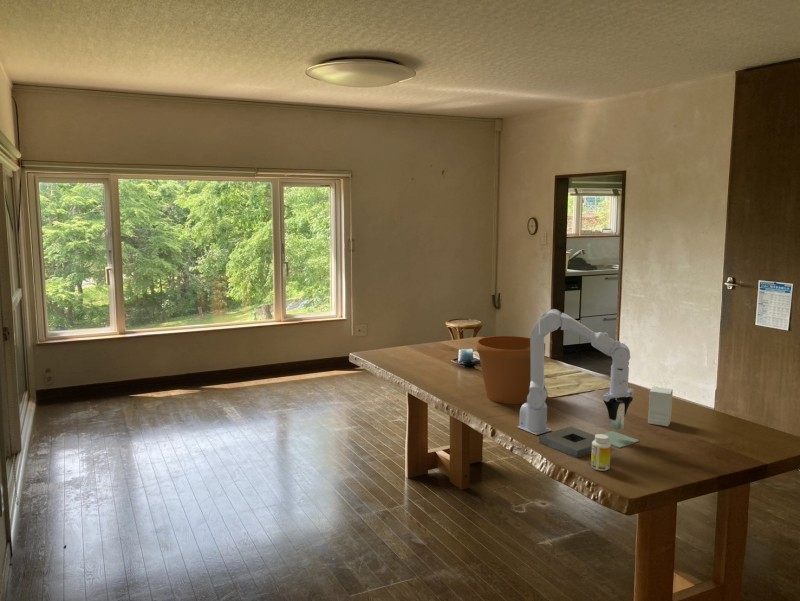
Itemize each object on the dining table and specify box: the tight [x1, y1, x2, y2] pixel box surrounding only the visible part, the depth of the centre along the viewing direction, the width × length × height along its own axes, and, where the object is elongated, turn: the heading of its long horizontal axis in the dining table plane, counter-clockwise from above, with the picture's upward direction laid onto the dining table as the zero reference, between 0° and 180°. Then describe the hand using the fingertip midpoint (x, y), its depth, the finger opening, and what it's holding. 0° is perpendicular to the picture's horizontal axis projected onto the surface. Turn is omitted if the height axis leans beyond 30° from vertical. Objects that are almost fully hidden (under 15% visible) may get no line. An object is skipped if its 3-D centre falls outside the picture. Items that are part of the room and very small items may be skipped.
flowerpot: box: [476, 335, 546, 405], centre depth 262 cm, size 28×28×24 cm
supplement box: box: [647, 386, 674, 427], centre depth 233 cm, size 7×7×13 cm
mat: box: [603, 430, 640, 449], centre depth 216 cm, size 11×11×1 cm
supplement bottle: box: [590, 433, 612, 472], centre depth 192 cm, size 6×6×10 cm
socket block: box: [538, 426, 609, 459], centre depth 211 cm, size 16×16×2 cm
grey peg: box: [609, 399, 625, 431], centre depth 215 cm, size 4×4×9 cm
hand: (617, 417), depth 215 cm, fingers closed on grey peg, 4 cm apart
